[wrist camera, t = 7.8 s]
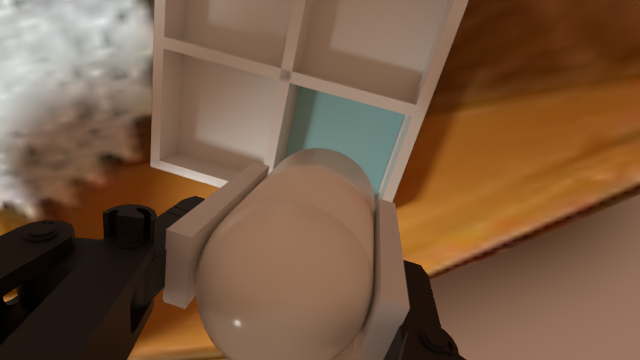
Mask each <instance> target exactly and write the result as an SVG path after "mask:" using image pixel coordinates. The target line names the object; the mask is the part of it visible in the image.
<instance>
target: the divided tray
mask: <svg viewBox="0 0 640 360" xmlns="http://www.w3.org/2000/svg"><path fill="white" fill-rule="evenodd" d="M468 1H469V0H155V11H154V49H153V88H152V126H151V164H150V167H154V168H157V169H160V170H164V171H167V172H170V173H174V174H177V175H180V176H183V177H187V178H190V179H193V180H197V181H200V182H203V183H207V184H210V185H213V186H216V187H220V188H221V187H222V186H223V185H225V184H226V183H227V182H229V181H230V180H231V179H233V178H234V177H235V176H236V175H238V174H239V173H240V172H242V171H243V170H244V169H246V168H247V167H248V166H249V165H251V164H252V163H253V162H258V163H261V164H265V165H268V166H269V171H268V175H269V174H270V173H271V172H272V171H273V170H274V169H275V168H276V167H277V166H278V165H279V164H280V163H281V162H282V161H283V160H284V159H285V158H287V157H288V156H290V155H291V154H294V153H296V152H298V151H301V150H304V149H310V148H324V149H330V150H334V151H337V152H340V153H342V154H344V155H346V156H348V157H349V158H351V159H352V160H353V161H355V162H356V163H357V164H358V165H359V166H360V167H361V168H362V169H363V171H364V172H365V173H366V175H367V176H368V178H369V180H370V182H371V185H372V188H373V192H374V213H375V210H376V207H377V204H378V202H379V199H382V200H385V201H389V202H392V201H393V199H394V196H395V193H396V191H397V188H398V186H399V183H400V180H401V178H402V175H403V172H404V170H405V167H406V164H407V162H408V159H409V157H410V154H411V151H412V149H413V146H414V143H415V141H416V138H417V135H418V133H419V130H420V128H421V125H422V122H423V120H424V117H425V114H426V112H427V109H428V106H429V104H430V101H431V99H432V96H433V93H434V91H435V88H436V85H437V83H438V80H439V77H440V75H441V72H442V70H443V67H444V64H445V62H446V59H447V56H448V54H449V51H450V48H451V46H452V43H453V40H454V38H455V35H456V33H457V30H458V27H459V25H460V22H461V19H462V17H463V14H464V11H465V9H466V6H467V4H468Z"/></svg>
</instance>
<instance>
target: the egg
mask: <svg viewBox="0 0 640 360" xmlns="http://www.w3.org/2000/svg"><path fill="white" fill-rule="evenodd" d="M373 263H374V192H373V188H372V185H371V182H370V180H369V178H368V176H367V175H366V173H365V172H364V171H363V169H362V168H361V167H360V166H359V165H358V164H357V163H356V162H355V161H353V160H352V159H351V158H349V157H348V156H346V155H344V154H342V153H340V152H337V151H334V150H330V149H324V148H310V149H304V150H301V151H298V152H296V153H294V154H291V155H290V156H288V157H287V158H285V159H284V160H283V161H282V162H281V163H280V164H279V165H278V166H277V167H276V168H275V169H274V170H273V171H272V172H271V173H270V174H269V175H268V176H267V177H266V178H265V179H264V180H263V181H262V182H261V183H260V184H259V185H258V186H257V187H256V188H255V189H254V190H253V191H252V192H251V193H250V194H249V195H248V196H247V197H246V198H245V199H244V200H243V201H242V202H241V203H240V204H239V205H237V206H236V207H235V208H234V209H233V210H232V211H231V212H230V213H229V214H228V215H227V216H226V217H225V218H224V219H223V221H222V222H221V223H220V224H219V226H218V227H217V228H216V229H215V230H214V232H213V233H212V235H211V237H210V238H209V240H208V242H207V244H206V245H205V247H204V250H203V253H202V255H201V258H200V261H199V265H198V270H197V276H196V300H197V307H198V311H199V314H200V318H201V321H202V324H203V326H204V328H205V330H206V332H207V334H208V336H209V337H210V339H211V341H212V342H213V343H214V345H215V346H216V347H217V349H218V350H219V351H220V352H221V353H222V354H223V355H224V356H225V357H227V358H228V359H229V360H334V359H336V358H337V357H338V356H340V355H341V354H342V353H343V352H344V351H345V350H346V349H347V348H348V347H349V345H350V344H351V343H352V342H353V340H354V339H355V338H356V336H357V335H358V333H359V331H360V329H361V327H362V326H363V324H364V322H365V320H366V317H367V314H368V310H369V307H370V304H371V299H372V291H373Z"/></svg>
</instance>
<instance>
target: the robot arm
mask: <svg viewBox="0 0 640 360" xmlns="http://www.w3.org/2000/svg"><path fill="white" fill-rule="evenodd" d="M268 171H269V166H268V165H265V164H261V163H258V162H253V163H252V164H251V165H249V166H248V167H247V168H246V169H244V170H243V171H242V172H240V173H239V174H238V175H236V176H235V177H234V178H233V179H231V180H230V181H229V182H227V183H226V184H225V185H223V186H222V187H221V188H220V189H218V190H217V191H216V192H214V193H213V194H212V195H210V196H209V197H208V198H207V199H204V198H201V197H197V196H194V197H190V198H187V199H184V200H182V201H180V202H179V203H177V204H176V205H174V207H172V208H170V209H169V210H167V211H166V213H165V212H164V213H163V214H161V215H160V216H158V217H157V215H156V213H155V211H154V210H152V209H151V208H149V207H146V206H142V205H132V204H129V205H120V206H116V207H113V208H110V209H108V210H107V211H105V212H103V227H104V238H103V239H102V240H97V239H86V238H75V235H74V229H73V227H72V225H70V224H68V223H66V222H62V221H56V220H49V221H48V220H46V221H39V222H33V223H29V224H27V225H24V226H21V227H18V228H16V229H14V230H12V231H10V232H8V233H6V234H4V235H1V236H0V360H127V358H128V356H129V355H130V353H131V351H132V349H133V347H134V345H135V343H136V341H137V339H138V337H139V335H140V333H141V331H142V329H143V327H144V326H145V324H146V322H147V320H148V318H149V316H150V314H151V312H152V309H153V305H154V297H155V296H156V295H157V294H158V293H159V292H160V291H161V290H162V289H163V302H166V303H169V304H171V305H174V306H177V307H180V308H183V309H185V308H186V307H187V306H188V305H189V303H190V302H191V301H192V300H193V298H194V297H195V296H196V276H197V270H198V265H199V261H200V258H201V255H202V253H203V250H204V247H205V245H206V244H207V242H208V240H209V238H210V237H211V235H212V233H213V232H214V230H215V229H216V228H217V227H218V226H219V224H220V223H221V222H222V221H223V219H224V218H225V217H226V216H227V215H228V214H229V213H230V212H231V211H232V210H233V209H234V208H235V207H236V206H237V205H239V204H240V203H241V202H242V201H243V200H244V199H245V198H246V197H247V196H248V195H249V194H250V193H251V192H252V191H253V190H254V189H255V188H256V187H257V186H258V185H259V184H260V183H261V182H262V181H263V180H264V179H265V178H266V177H267V176H268ZM15 288H16V289H17V294H18V296H16V297H15V298H13V299H12V300H9V301H7V302H4V300H3V296H4V295H6V294H7V293H9V292H10V291H12V290H13V289H15ZM354 360H466V359H464V358H463V357H461V356H460V355H459V353H458V348H457V346H456V344H455V342H454V340H453V339H452V337H450V335H449V334H448V333H447V332H446V331H445V330H443V329H442V328H441V325H440V321H439V317H438V313H437V309H436V305H435V301H434V298H433V293H432V289H431V285H430V281H429V277H428V275H427V273H426V272H425V271H424V269H423V268H422V266H421V265H418V264H415V263H412V262H409V261H405V260H403V256H402V248H401V241H400V234H399V227H398V219H397V212H396V205H395V203H392V202H389V201H385V200H382V199H379V202H378V204H377V207H376V210H375V213H374V263H373V291H372V299H371V304H370V307H369V310H368V314H367V317H366V320H365V322H364V324H363V326H362V327H361V329H360V331H359V333H358V335H357V336H356V338H355V348H354Z"/></svg>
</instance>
